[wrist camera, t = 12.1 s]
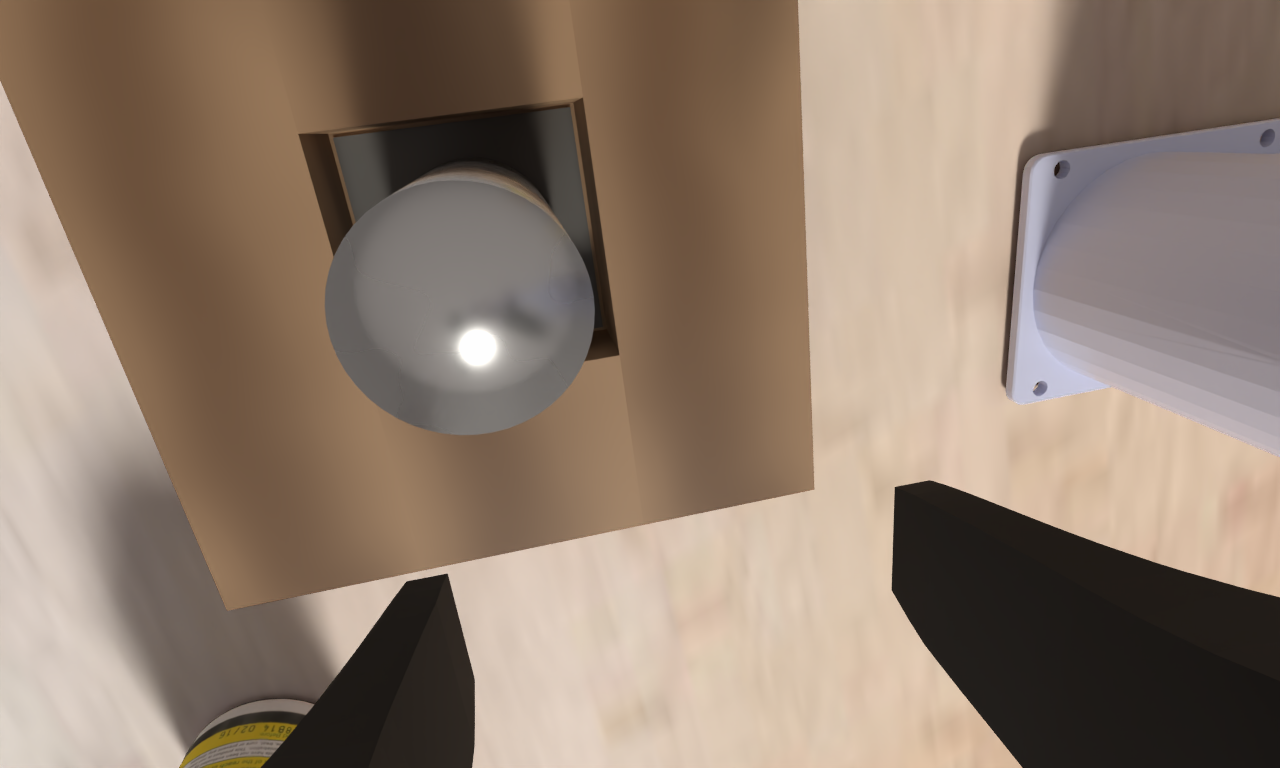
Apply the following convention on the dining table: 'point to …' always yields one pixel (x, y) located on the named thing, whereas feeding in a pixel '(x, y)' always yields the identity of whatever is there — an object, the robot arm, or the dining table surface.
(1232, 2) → the dining table surface
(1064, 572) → the robot arm
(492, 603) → the dining table surface
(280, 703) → the supplement bottle
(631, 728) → the dining table surface
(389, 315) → the steel pin
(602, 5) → the socket block
